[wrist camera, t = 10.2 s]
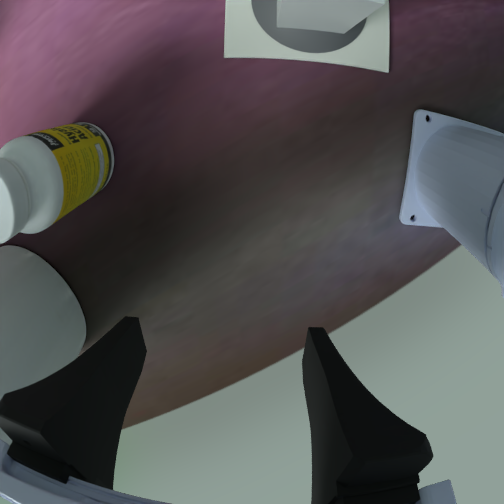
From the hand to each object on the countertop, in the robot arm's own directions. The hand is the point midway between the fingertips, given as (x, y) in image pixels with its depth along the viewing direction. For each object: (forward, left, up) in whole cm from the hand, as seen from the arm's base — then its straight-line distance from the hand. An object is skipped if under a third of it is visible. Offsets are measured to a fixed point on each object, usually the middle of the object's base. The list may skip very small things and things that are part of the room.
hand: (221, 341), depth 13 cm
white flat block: (-4, -16, -10) cm, 19 cm away
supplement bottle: (+11, -6, -10) cm, 16 cm away
